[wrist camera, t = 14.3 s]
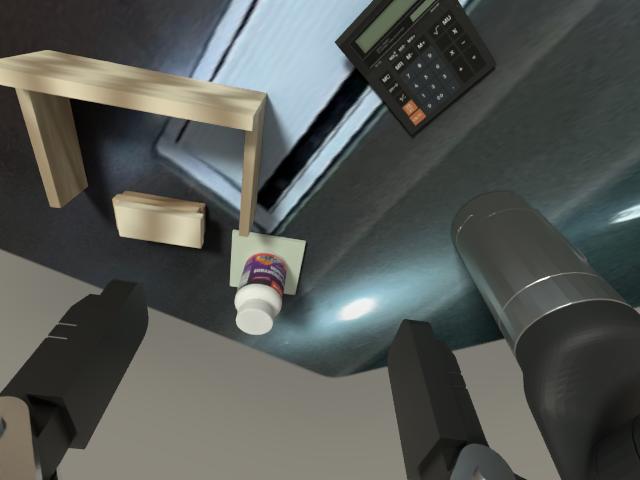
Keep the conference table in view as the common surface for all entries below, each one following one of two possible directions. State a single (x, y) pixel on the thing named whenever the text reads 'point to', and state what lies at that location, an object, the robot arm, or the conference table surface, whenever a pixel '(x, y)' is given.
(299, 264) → the sage mat
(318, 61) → the conference table surface
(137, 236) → the offcut stack
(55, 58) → the enclosure
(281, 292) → the pill bottle
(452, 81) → the calculator
